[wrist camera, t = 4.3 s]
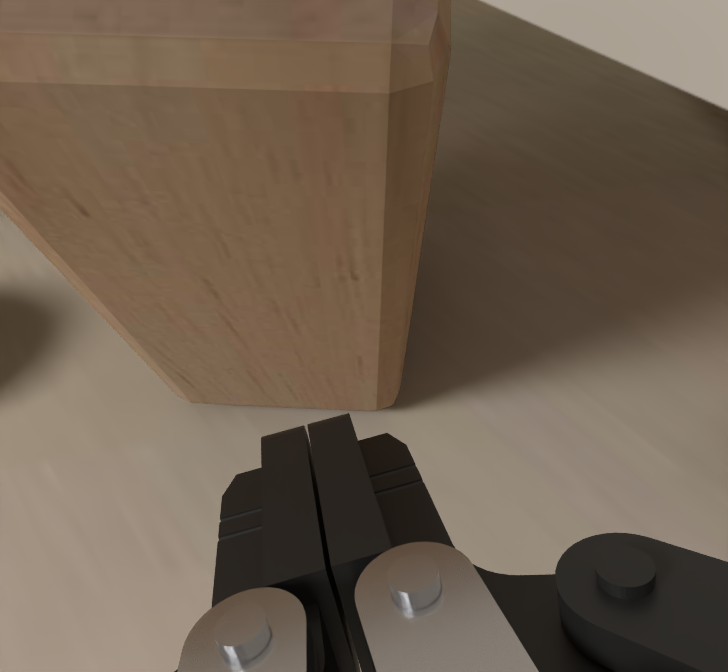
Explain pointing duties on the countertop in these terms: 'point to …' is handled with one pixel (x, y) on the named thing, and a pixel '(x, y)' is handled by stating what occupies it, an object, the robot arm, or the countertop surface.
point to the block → (232, 181)
